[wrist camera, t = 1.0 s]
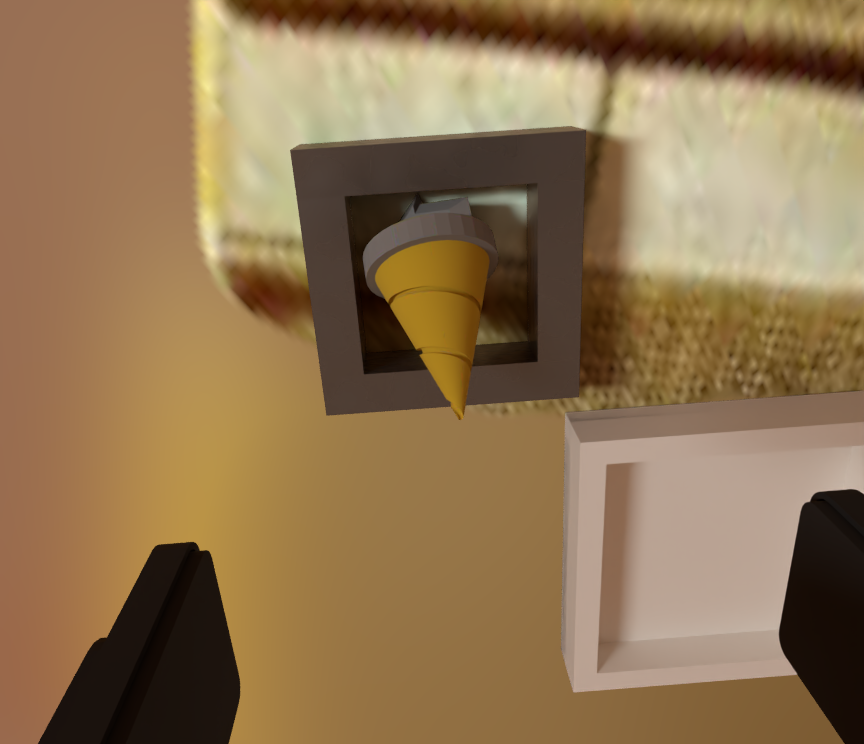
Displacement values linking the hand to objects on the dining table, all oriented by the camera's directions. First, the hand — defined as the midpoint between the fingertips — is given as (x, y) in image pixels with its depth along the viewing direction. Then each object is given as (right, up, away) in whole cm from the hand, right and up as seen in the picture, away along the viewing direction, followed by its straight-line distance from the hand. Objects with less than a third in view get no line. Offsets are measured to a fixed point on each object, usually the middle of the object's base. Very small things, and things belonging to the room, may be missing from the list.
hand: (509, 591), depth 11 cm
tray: (+13, -5, +25) cm, 29 cm away
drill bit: (-1, +8, +19) cm, 21 cm away
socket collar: (-1, +8, +19) cm, 21 cm away
